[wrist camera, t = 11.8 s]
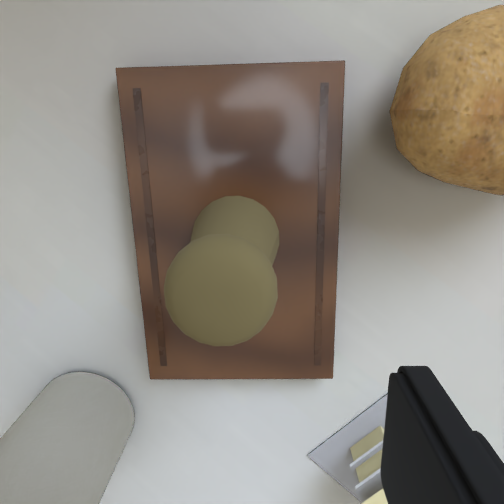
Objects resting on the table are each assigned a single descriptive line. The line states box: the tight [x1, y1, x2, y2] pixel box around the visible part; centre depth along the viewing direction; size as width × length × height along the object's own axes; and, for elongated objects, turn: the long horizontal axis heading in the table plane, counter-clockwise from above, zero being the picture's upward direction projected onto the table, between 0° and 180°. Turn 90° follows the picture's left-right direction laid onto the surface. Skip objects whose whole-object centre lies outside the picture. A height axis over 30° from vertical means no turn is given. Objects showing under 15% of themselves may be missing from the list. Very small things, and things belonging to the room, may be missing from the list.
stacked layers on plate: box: [307, 394, 388, 504], centre depth 31 cm, size 10×9×6 cm
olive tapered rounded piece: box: [164, 196, 279, 346], centre depth 22 cm, size 6×6×11 cm
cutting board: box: [116, 61, 345, 379], centre depth 28 cm, size 22×14×2 cm, turn 1°
